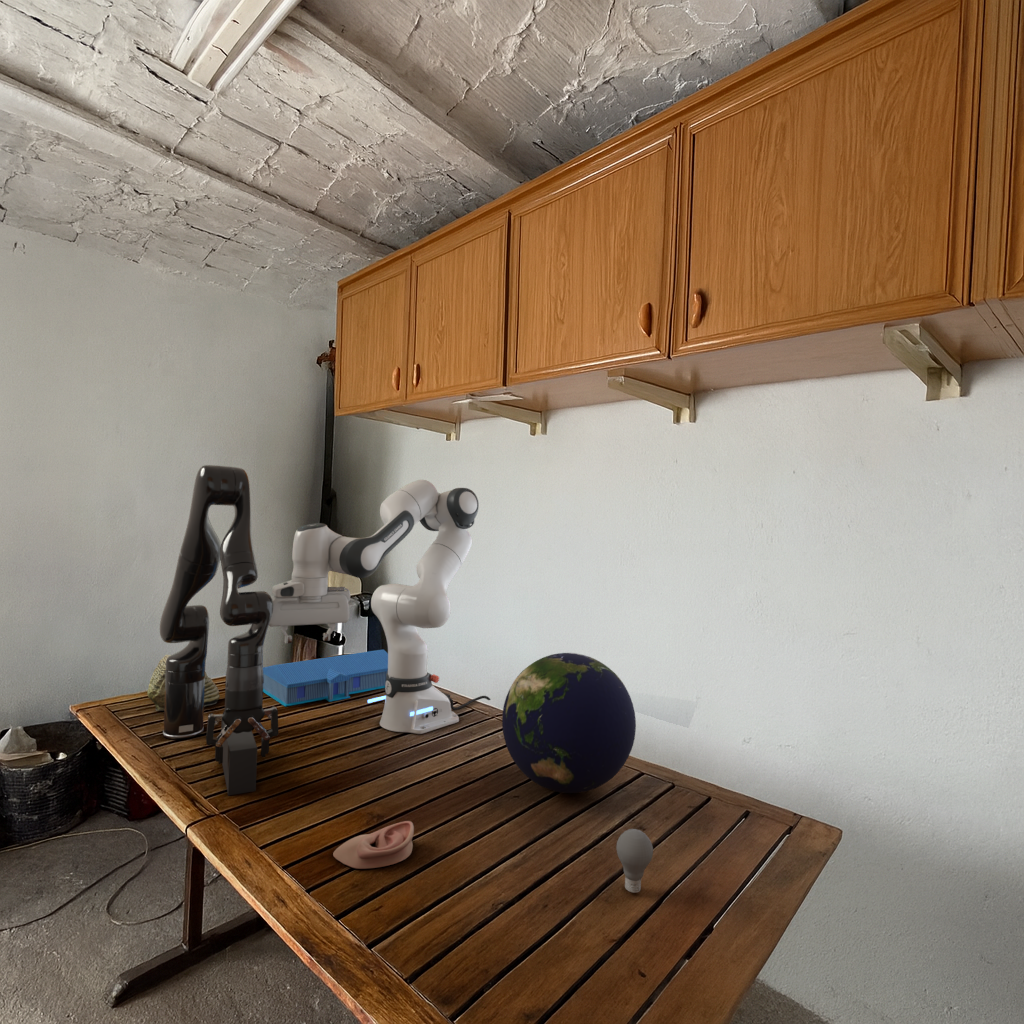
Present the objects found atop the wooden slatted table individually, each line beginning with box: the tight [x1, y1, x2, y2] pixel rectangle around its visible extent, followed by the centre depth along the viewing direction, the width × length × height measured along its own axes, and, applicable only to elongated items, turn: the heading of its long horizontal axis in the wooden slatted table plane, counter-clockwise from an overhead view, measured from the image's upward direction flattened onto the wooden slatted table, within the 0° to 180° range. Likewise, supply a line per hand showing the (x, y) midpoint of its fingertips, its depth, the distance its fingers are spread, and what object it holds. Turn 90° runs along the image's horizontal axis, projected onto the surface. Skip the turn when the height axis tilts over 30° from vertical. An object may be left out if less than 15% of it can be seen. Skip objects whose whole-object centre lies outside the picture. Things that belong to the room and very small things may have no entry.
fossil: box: [147, 654, 221, 712], centre depth 185 cm, size 9×18×15 cm, turn 132°
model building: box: [263, 649, 388, 707], centre depth 208 cm, size 39×24×10 cm, turn 132°
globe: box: [501, 652, 637, 794], centre depth 143 cm, size 30×30×30 cm
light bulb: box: [615, 828, 654, 894], centre depth 106 cm, size 6×6×10 cm
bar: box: [220, 720, 258, 796], centre depth 144 cm, size 23×5×9 cm, turn 29°
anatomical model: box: [332, 820, 415, 870], centre depth 114 cm, size 13×4×12 cm
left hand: (242, 759), depth 136 cm, fingers open, 8 cm apart
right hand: (307, 641), depth 161 cm, fingers open, 8 cm apart
